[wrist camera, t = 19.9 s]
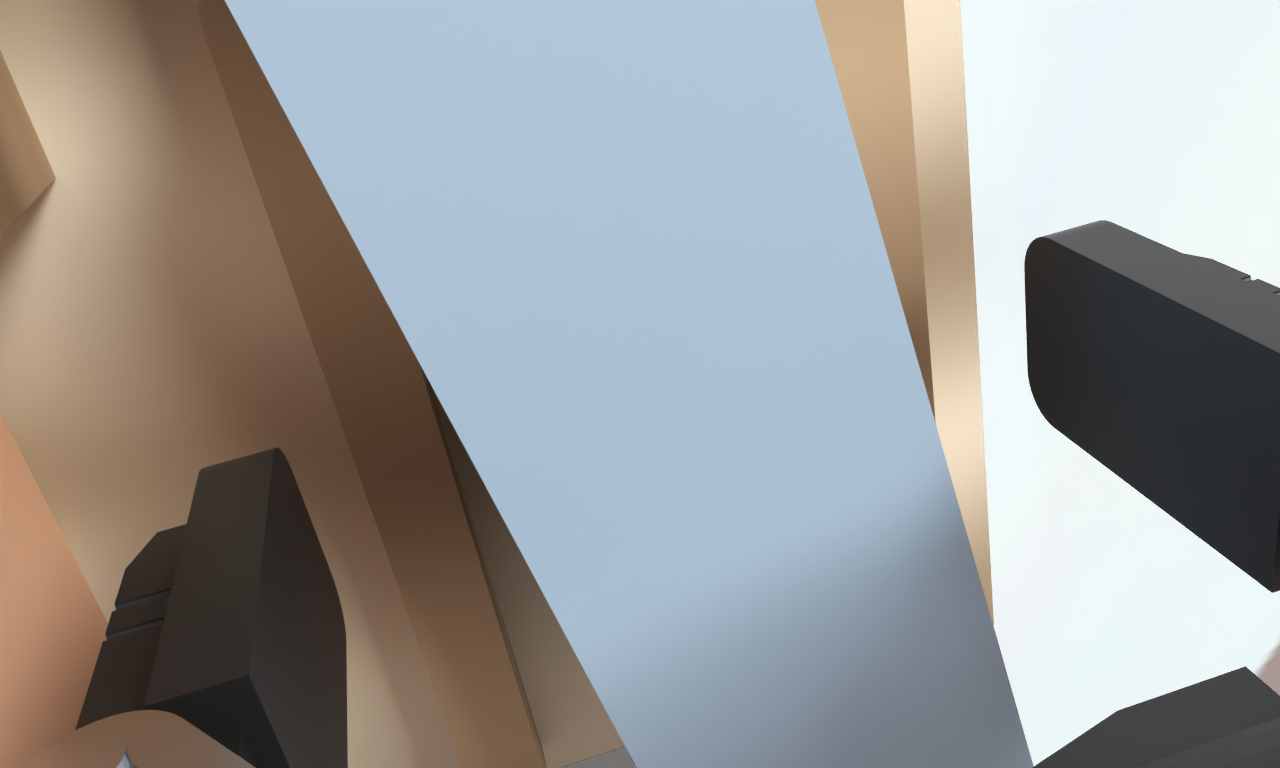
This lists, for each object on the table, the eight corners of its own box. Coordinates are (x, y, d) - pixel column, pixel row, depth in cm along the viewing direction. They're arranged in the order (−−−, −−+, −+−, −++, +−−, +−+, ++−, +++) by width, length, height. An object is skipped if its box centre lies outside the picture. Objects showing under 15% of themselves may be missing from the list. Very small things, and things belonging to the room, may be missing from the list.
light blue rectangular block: (223, -90, 10) (180, -82, 7) (624, -263, 10) (725, -314, 8) (672, 778, 16) (740, 961, 13) (926, 652, 16) (1045, 809, 13)
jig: (-1151, 9, 10) (-1966, 77, 6) (896, -379, 13) (1112, -479, 9) (-289, 994, 16) (-465, 1304, 13) (963, 590, 19) (1106, 752, 15)
